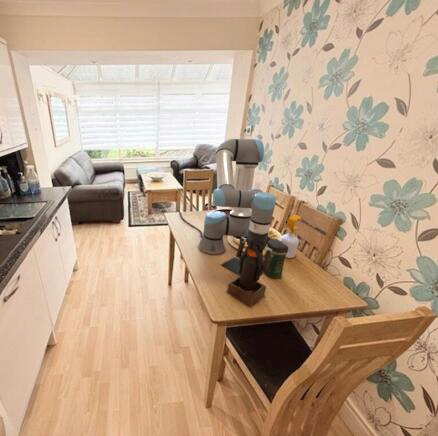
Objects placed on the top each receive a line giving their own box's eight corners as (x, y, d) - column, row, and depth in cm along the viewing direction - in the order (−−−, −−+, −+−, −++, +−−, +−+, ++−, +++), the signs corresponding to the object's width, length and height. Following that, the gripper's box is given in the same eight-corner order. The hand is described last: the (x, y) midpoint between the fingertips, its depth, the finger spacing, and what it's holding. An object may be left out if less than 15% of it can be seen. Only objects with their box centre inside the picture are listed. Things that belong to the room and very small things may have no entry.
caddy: (227, 292, 111) (228, 282, 109) (241, 282, 117) (243, 273, 115) (249, 307, 103) (251, 297, 100) (264, 295, 109) (266, 286, 107)
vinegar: (255, 285, 110) (264, 248, 102) (253, 294, 105) (262, 255, 96) (240, 280, 113) (247, 243, 105) (237, 288, 108) (244, 251, 99)
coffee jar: (284, 278, 120) (292, 246, 113) (269, 279, 120) (277, 247, 112) (272, 266, 129) (279, 236, 122) (258, 268, 128) (265, 237, 121)
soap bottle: (298, 256, 139) (309, 217, 129) (287, 259, 136) (297, 220, 126) (285, 248, 146) (294, 212, 136) (274, 251, 143) (283, 214, 133)
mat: (221, 265, 131) (221, 264, 131) (234, 258, 137) (234, 257, 137) (240, 276, 122) (240, 275, 122) (253, 267, 129) (253, 266, 128)
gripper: (232, 224, 102) (225, 268, 111) (277, 243, 88) (265, 292, 97) (242, 220, 106) (234, 263, 116) (287, 237, 92) (274, 284, 101)
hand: (248, 276), depth 106 cm, fingers closed on vinegar, 7 cm apart
